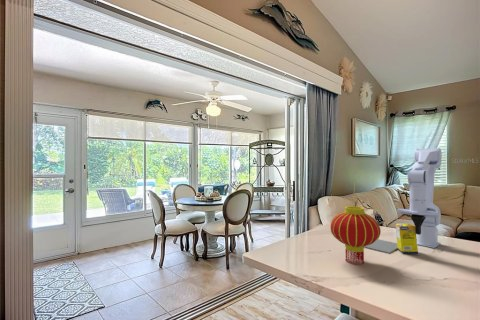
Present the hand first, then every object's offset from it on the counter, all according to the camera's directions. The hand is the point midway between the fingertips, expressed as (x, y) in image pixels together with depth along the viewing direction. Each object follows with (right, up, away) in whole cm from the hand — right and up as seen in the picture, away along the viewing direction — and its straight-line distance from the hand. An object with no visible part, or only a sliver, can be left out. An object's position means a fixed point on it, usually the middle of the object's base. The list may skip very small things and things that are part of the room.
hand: (418, 234), depth 106 cm
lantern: (-29, -8, -7) cm, 31 cm away
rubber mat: (-10, -8, +12) cm, 18 cm away
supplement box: (-2, -8, +3) cm, 9 cm away
